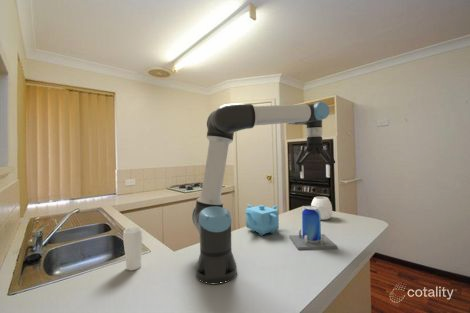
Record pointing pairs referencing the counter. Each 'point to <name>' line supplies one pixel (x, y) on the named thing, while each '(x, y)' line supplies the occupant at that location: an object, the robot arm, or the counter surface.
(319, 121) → the robot arm
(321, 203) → the cup
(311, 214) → the beer can
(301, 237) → the pegboard
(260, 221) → the teakettle
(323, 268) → the counter surface
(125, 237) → the white cylinder
